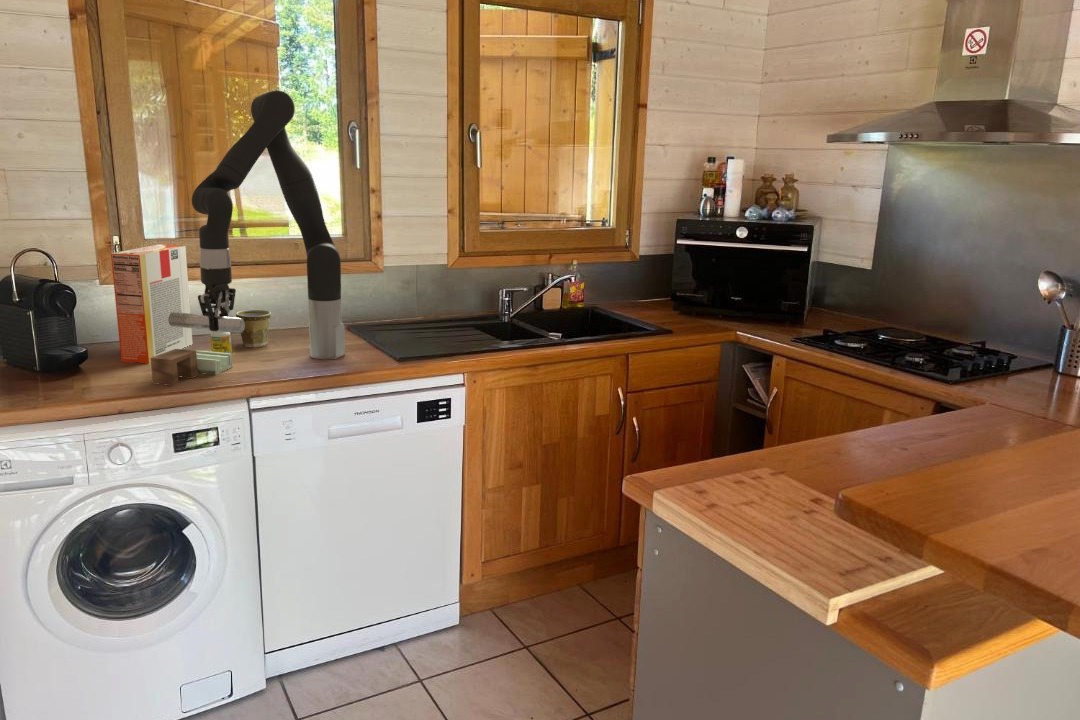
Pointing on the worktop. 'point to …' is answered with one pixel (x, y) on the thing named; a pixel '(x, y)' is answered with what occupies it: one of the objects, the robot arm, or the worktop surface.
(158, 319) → the pasta box
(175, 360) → the brown arch block
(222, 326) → the axle
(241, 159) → the robot arm
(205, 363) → the light green ridged block
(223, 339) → the supplement bottle
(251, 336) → the ceramic cup
